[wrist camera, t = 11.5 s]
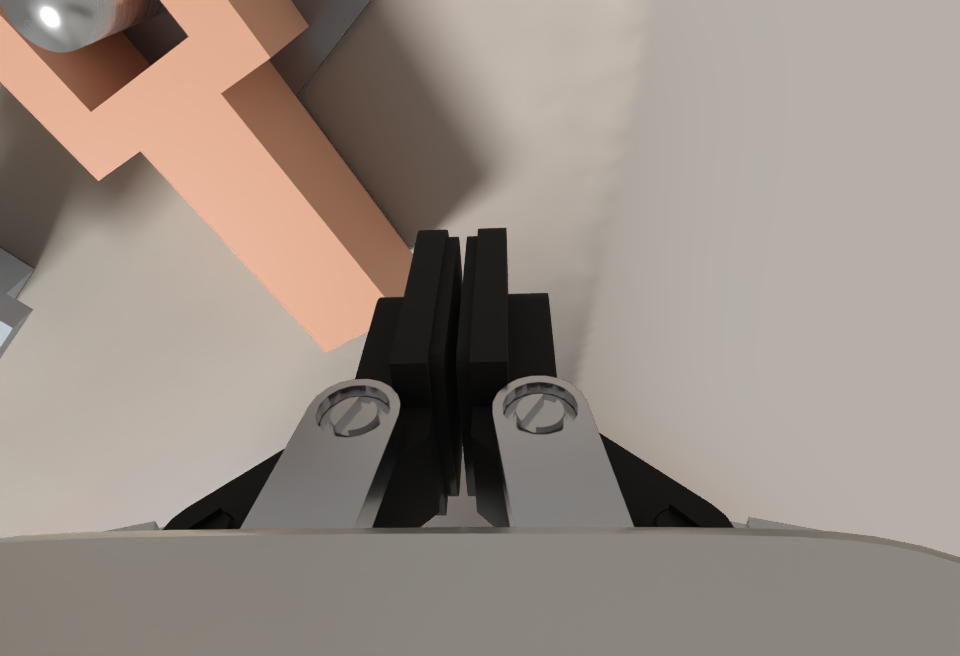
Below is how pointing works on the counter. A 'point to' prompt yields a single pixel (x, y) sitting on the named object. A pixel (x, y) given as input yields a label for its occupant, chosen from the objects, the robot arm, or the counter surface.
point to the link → (226, 152)
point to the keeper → (11, 297)
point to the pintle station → (173, 29)
